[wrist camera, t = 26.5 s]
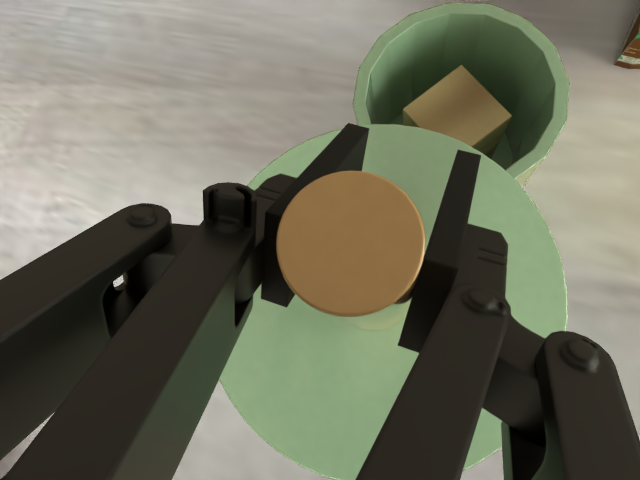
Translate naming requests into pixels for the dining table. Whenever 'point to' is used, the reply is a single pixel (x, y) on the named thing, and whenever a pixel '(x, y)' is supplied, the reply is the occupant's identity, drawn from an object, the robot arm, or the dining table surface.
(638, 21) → the food container
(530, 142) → the canister
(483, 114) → the block
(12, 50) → the dining table surface
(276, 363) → the lid
